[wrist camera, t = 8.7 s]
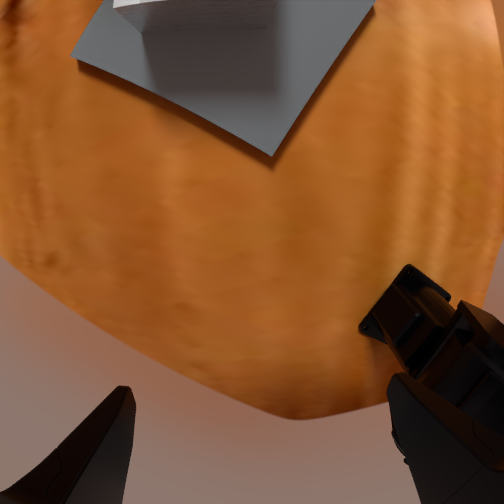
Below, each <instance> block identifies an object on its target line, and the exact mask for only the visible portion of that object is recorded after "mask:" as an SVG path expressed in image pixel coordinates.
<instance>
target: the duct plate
mask: <svg viewBox="0 0 504 504" xmlns="http://www.w3.org/2000/svg"><path fill="white" fill-rule="evenodd" d="M375 1H376V0H279V2H278V4H277V6H276V9H275V11H274V13H273V15H272V18H271V20H270V22H269V24H268V27H267V29H266V30H262V29H197V30H181V31H169V32H159V33H150V34H142V35H141V34H140V33H139V32H138V31H137V30H136V29H135V28H134V27H133V26H132V25H131V24H130V23H129V22H128V21H127V20H125V19H124V18H123V17H122V16H121V15H120V14H119V13H118V12H117V11H116V10H115V9H113V3H114V0H104V1H103V3H102V4H101V6H100V7H99V9H98V10H97V12H96V13H95V15H94V16H93V18H92V19H91V21H90V22H89V24H88V26H87V27H86V29H85V31H84V32H83V34H82V36H81V37H80V39H79V41H78V42H77V44H76V46H75V48H74V50H73V51H72V53H71V55H70V56H71V57H73V58H76V59H78V60H81V61H83V62H86V63H88V64H91V65H93V66H96V67H98V68H100V69H103V70H105V71H107V72H110V73H112V74H114V75H117V76H119V77H121V78H123V79H125V80H128V81H130V82H132V83H134V84H136V85H139V86H141V87H143V88H145V89H147V90H149V91H151V92H153V93H155V94H158V95H160V96H162V97H164V98H166V99H168V100H170V101H172V102H174V103H176V104H178V105H180V106H182V107H184V108H185V109H187V110H189V111H191V112H193V113H195V114H197V115H199V116H201V117H203V118H205V119H206V120H208V121H210V122H212V123H214V124H216V125H217V126H219V127H221V128H223V129H225V130H227V131H228V132H230V133H232V134H234V135H235V136H237V137H239V138H241V139H242V140H244V141H246V142H248V143H249V144H251V145H253V146H255V147H256V148H258V149H260V150H261V151H263V152H265V153H266V154H268V155H270V156H271V157H272V156H273V154H274V153H275V151H276V149H277V148H278V146H279V145H280V143H281V142H282V140H283V138H284V137H285V135H286V134H287V132H288V131H289V129H290V127H291V126H292V124H293V123H294V121H295V120H296V118H297V117H298V115H299V114H300V112H301V110H302V109H303V107H304V106H305V104H306V103H307V101H308V100H309V98H310V97H311V95H312V94H313V92H314V91H315V89H316V88H317V86H318V85H319V83H320V82H321V80H322V79H323V77H324V76H325V74H326V73H327V71H328V70H329V68H330V67H331V65H332V64H333V62H334V61H335V59H336V58H337V56H338V55H339V53H340V52H341V50H342V49H343V47H344V46H345V44H346V43H347V42H348V40H349V39H350V37H351V36H352V34H353V33H354V31H355V30H356V28H357V27H358V26H359V24H360V23H361V21H362V20H363V18H364V17H365V16H366V14H367V13H368V11H369V10H370V8H371V7H372V6H373V4H374V3H375Z"/></svg>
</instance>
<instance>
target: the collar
mask: <svg viewBox="0 0 504 504" xmlns="http://www.w3.org/2000/svg"><path fill="white" fill-rule="evenodd" d="M278 2H279V0H114V3H113V9H115V10H116V11H117V12H118V13H119V14H120V15H121V16H122V17H123V18H124V19H125V20H127V21H128V22H129V23H130V24H131V25H132V26H133V27H134V28H135V29H136V30H137V31H138V32H139V33H140V34H141V35H142V34H150V33H159V32H169V31H181V30H197V29H262V30H266V29H267V27H268V24H269V22H270V20H271V18H272V15H273V13H274V11H275V9H276V6H277V4H278Z"/></svg>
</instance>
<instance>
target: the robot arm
mask: <svg viewBox="0 0 504 504" xmlns="http://www.w3.org/2000/svg"><path fill="white" fill-rule="evenodd" d="M410 269H411V270H410ZM409 270H410V272H409V273H408V271H409ZM450 300H451V295H450V294H449V293H448V292H447V291H445V290H444V289H443V288H442V287H440V286H439V285H438V284H436V283H435V282H434V281H433V280H431V279H430V278H429V277H427V276H426V275H425V274H423V273H422V272H421V271H420V270H418V269H417V268H416V267H414V266H413V265H411V264H407V265H406V266H405V267H404V268H403V269H402V271H401V272H400V273H399V275H398V276H397V277H396V279H395V280H394V281H393V283H392V284H391V285H390V287H389V288H388V289H387V291H386V292H385V293H384V295H383V296H382V297H381V298H380V300H379V301H378V302H377V303H376V305H375V306H374V307H373V308H372V310H371V311H370V312H369V313H368V315H367V316H366V317H365V318H364V320H363V321H362V322H361V323H360V325H359V328H360V330H361V332H362V333H364V334H366V335H368V336H370V337H372V338H375V339H377V340H379V341H381V342H383V343H385V344H387V345H389V347H390V349H391V350H392V352H393V353H394V355H395V357H396V358H397V360H398V362H399V363H400V365H401V366H402V368H403V370H404V371H405V373H404V372H401V373H395V374H394V375H393V376H392V378H391V380H390V383H389V385H388V388H387V398H388V401H389V406H390V413H391V421H392V432H391V433H392V437H393V439H394V442H395V444H396V446H397V448H398V449H399V451H400V452H401V453H402V454H403V455H404V456H405V457H406V458H405V459H404V462H405V463H406V464H407V465H409V468H410V471H411V474H412V477H413V480H414V483H415V486H416V489H417V492H418V495H419V498H420V502H421V504H504V324H502V323H501V322H500V321H499V320H498V319H497V318H496V317H494V316H493V315H492V314H490V313H488V312H486V311H484V310H482V309H480V308H478V307H476V306H474V305H472V304H469V303H467V302H465V301H463V300H461V301H460V302H459V304H458V306H457V310H455V309H454V308H453V307H452V306H451V305H450V304H449V301H450ZM365 326H367V327H365ZM364 327H365V328H364ZM135 414H136V403H135V399H134V396H133V393H132V390H131V388H130V387H129V386H117V387H116V388H115V389H114V391H112V392H111V393H110V394H109V395H108V396H107V397H106V398H105V399H104V400H103V402H101V403H100V404H99V405H98V406H97V407H96V408H95V409H94V410H93V411H92V412H91V414H89V415H88V416H87V418H85V419H84V420H83V421H82V422H81V423H80V425H79V426H77V427H76V428H75V430H73V432H71V433H70V434H69V436H67V437H66V438H65V440H63V442H62V443H61V444H60V445H59V446H58V447H57V448H55V449H54V450H53V451H52V452H51V454H50V455H49V456H47V457H46V458H45V459H44V460H43V461H42V462H41V463H40V464H39V465H37V466H36V467H35V468H34V469H33V470H31V471H30V472H29V473H28V474H26V475H25V476H24V477H22V478H21V479H20V480H18V481H17V482H16V483H15V484H13V485H12V486H11V487H9V488H8V489H6V490H4V491H2V492H0V504H122V500H123V494H124V489H125V483H126V478H127V473H128V467H129V462H130V457H131V452H132V447H133V436H134V424H135Z"/></svg>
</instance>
